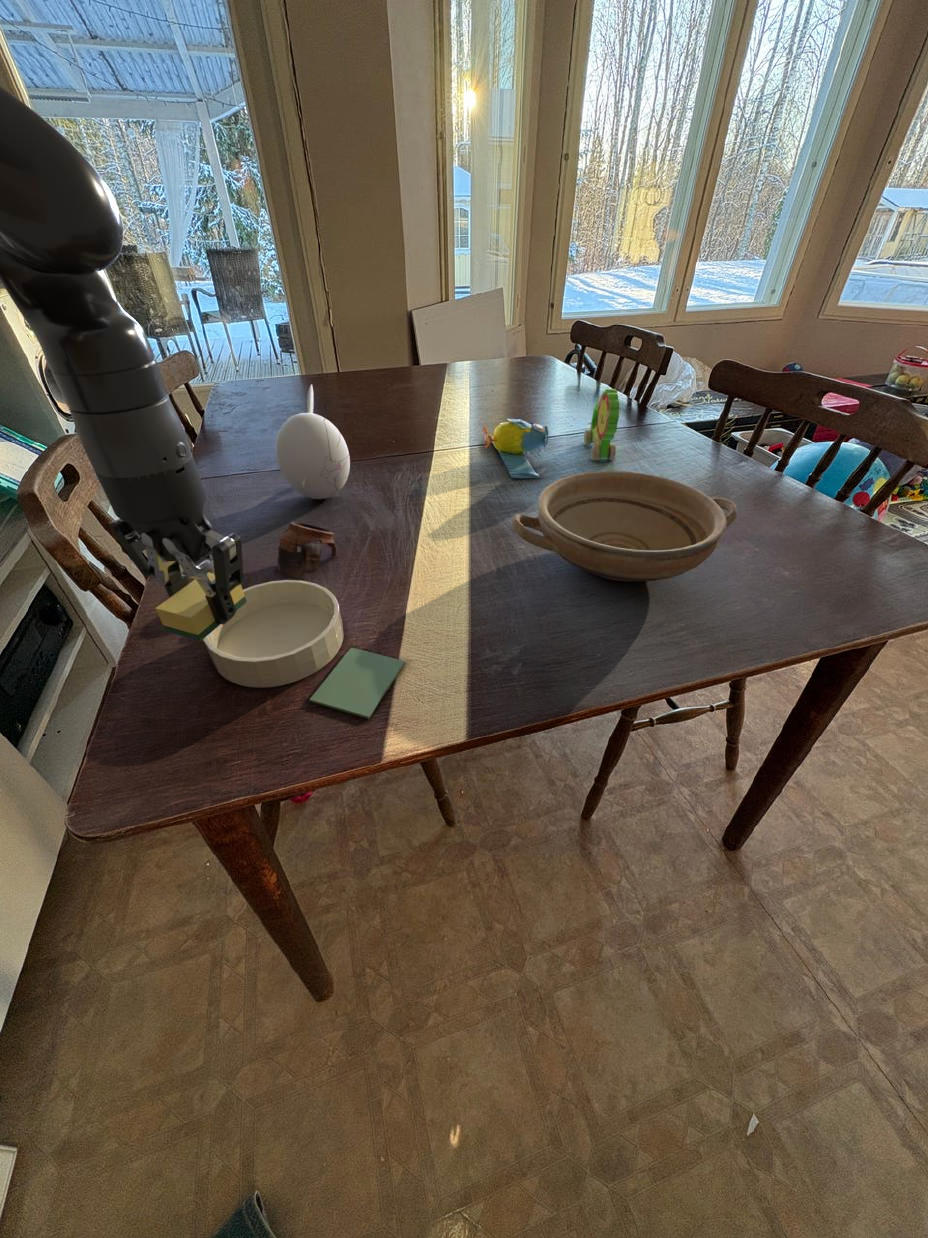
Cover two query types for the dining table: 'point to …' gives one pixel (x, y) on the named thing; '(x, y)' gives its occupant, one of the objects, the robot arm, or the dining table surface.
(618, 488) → the ceramic bowl
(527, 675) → the dining table surface
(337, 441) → the spiked white egg
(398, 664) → the mat
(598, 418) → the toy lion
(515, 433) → the toy airplane
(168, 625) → the sponge
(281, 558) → the pottery mug
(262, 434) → the dining table surface
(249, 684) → the wash bowl
